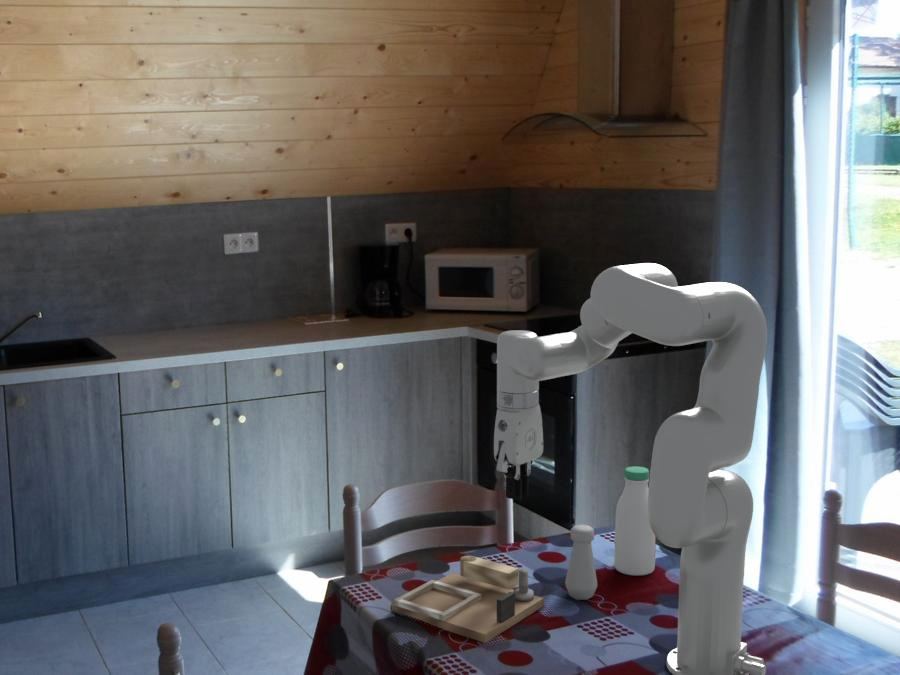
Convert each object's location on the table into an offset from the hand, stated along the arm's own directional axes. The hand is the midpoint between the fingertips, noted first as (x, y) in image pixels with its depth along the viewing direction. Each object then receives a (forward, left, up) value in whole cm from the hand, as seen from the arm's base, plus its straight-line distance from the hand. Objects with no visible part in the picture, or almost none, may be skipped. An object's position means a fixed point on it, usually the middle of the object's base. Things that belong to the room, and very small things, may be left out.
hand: (517, 496), depth 195 cm
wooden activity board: (+1, +14, -17) cm, 22 cm away
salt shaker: (-12, -3, -17) cm, 21 cm away
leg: (+2, +7, -14) cm, 16 cm away
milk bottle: (-14, -20, -17) cm, 30 cm away
